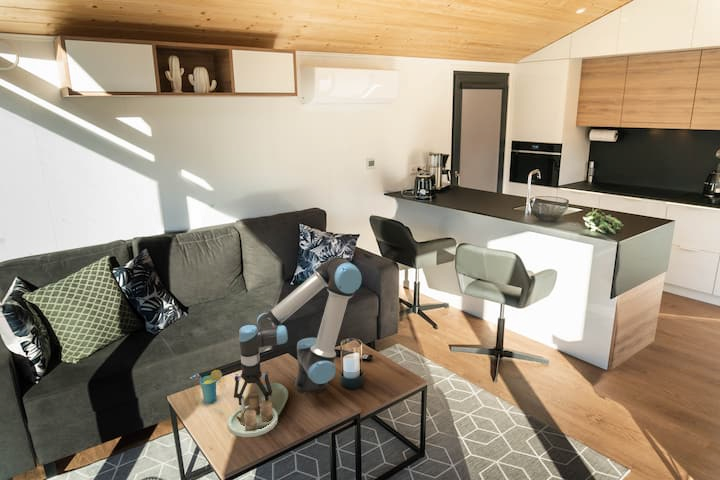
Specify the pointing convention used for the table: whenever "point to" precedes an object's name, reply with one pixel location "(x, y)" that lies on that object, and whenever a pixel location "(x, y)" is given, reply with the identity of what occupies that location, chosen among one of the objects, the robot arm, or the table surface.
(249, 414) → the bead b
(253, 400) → the brown stubby piece
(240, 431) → the tray
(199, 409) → the table surface
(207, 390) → the cup
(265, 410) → the brown rounded cylinder
